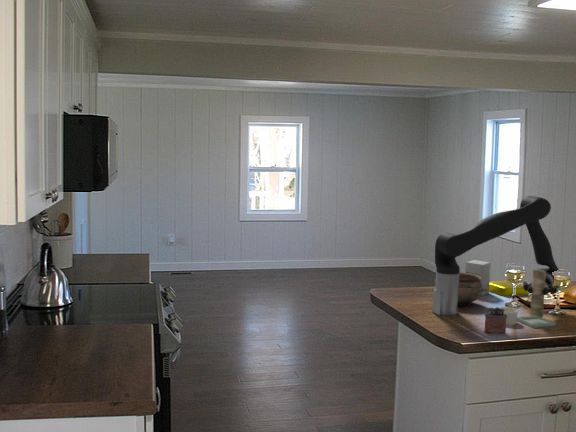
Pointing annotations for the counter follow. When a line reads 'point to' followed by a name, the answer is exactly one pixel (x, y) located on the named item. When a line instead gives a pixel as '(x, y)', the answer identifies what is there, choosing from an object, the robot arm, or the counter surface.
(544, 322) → the tray
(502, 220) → the robot arm
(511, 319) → the crock
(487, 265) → the supplement box
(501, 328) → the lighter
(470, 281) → the brown wooden bowl
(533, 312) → the pestle
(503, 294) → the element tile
